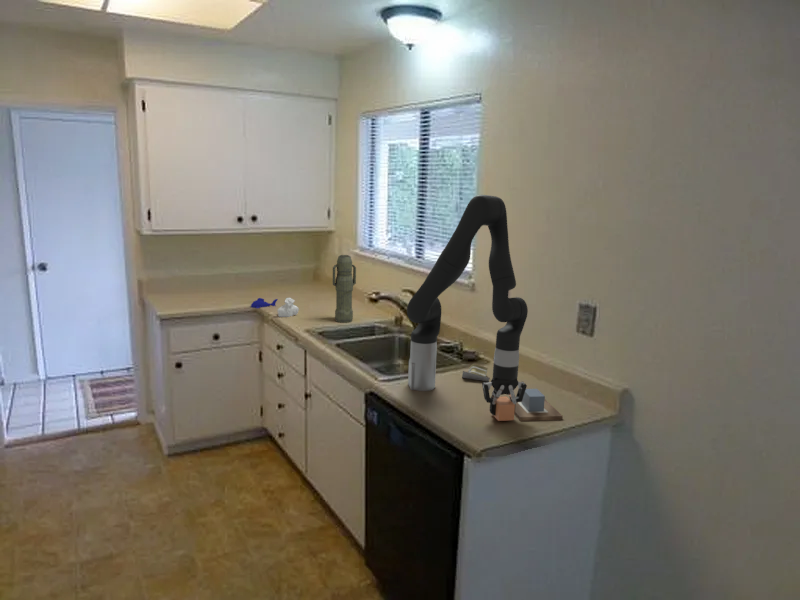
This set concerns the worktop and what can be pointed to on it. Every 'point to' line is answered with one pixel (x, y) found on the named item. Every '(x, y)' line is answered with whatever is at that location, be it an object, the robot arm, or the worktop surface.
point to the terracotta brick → (504, 409)
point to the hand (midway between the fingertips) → (502, 414)
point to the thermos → (344, 288)
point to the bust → (288, 308)
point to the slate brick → (533, 400)
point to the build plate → (537, 413)
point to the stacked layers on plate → (476, 373)
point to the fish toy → (262, 303)
